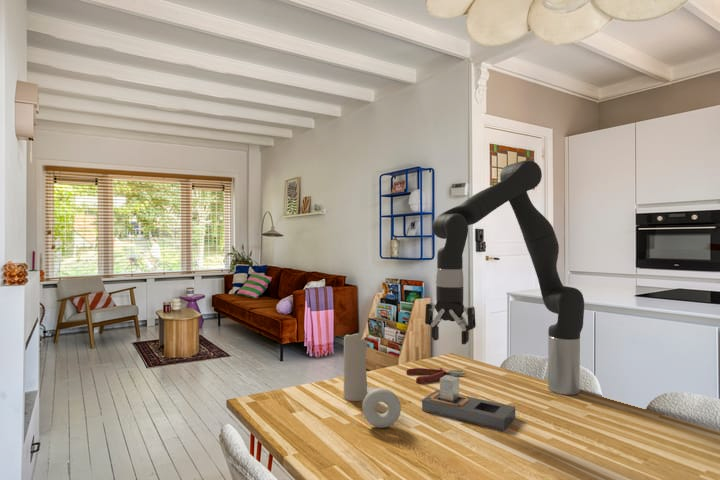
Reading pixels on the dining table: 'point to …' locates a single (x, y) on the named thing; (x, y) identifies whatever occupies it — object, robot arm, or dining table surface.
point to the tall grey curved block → (355, 368)
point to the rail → (471, 410)
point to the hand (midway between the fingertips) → (449, 341)
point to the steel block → (449, 389)
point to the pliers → (432, 374)
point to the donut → (373, 415)
